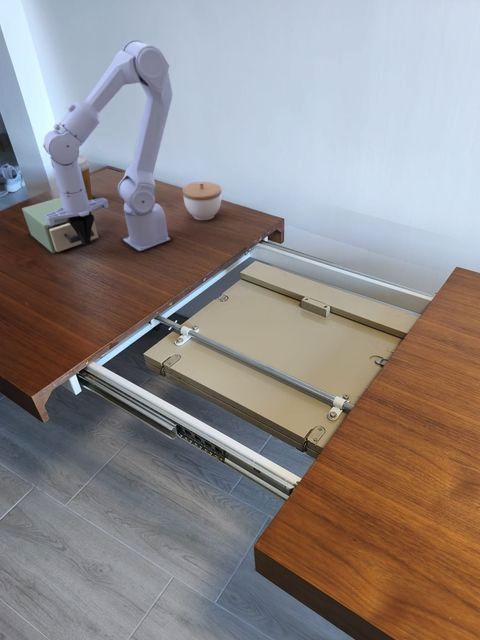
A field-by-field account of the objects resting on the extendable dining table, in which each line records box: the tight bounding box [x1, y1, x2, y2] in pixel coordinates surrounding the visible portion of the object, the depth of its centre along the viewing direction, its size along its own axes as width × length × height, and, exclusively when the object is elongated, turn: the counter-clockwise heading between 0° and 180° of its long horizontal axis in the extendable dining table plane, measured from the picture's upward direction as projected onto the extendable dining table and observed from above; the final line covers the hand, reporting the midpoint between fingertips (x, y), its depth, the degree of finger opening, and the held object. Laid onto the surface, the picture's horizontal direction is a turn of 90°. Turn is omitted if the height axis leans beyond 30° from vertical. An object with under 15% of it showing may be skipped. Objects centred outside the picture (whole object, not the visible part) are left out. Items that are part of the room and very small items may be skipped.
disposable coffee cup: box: [77, 154, 93, 200], centre depth 138 cm, size 10×10×12 cm
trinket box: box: [181, 181, 222, 221], centre depth 132 cm, size 11×11×9 cm
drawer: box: [48, 220, 99, 253], centre depth 120 cm, size 17×11×6 cm
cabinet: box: [21, 196, 93, 254], centre depth 122 cm, size 13×12×7 cm
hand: (86, 243), depth 115 cm, fingers closed, pressing on drawer
